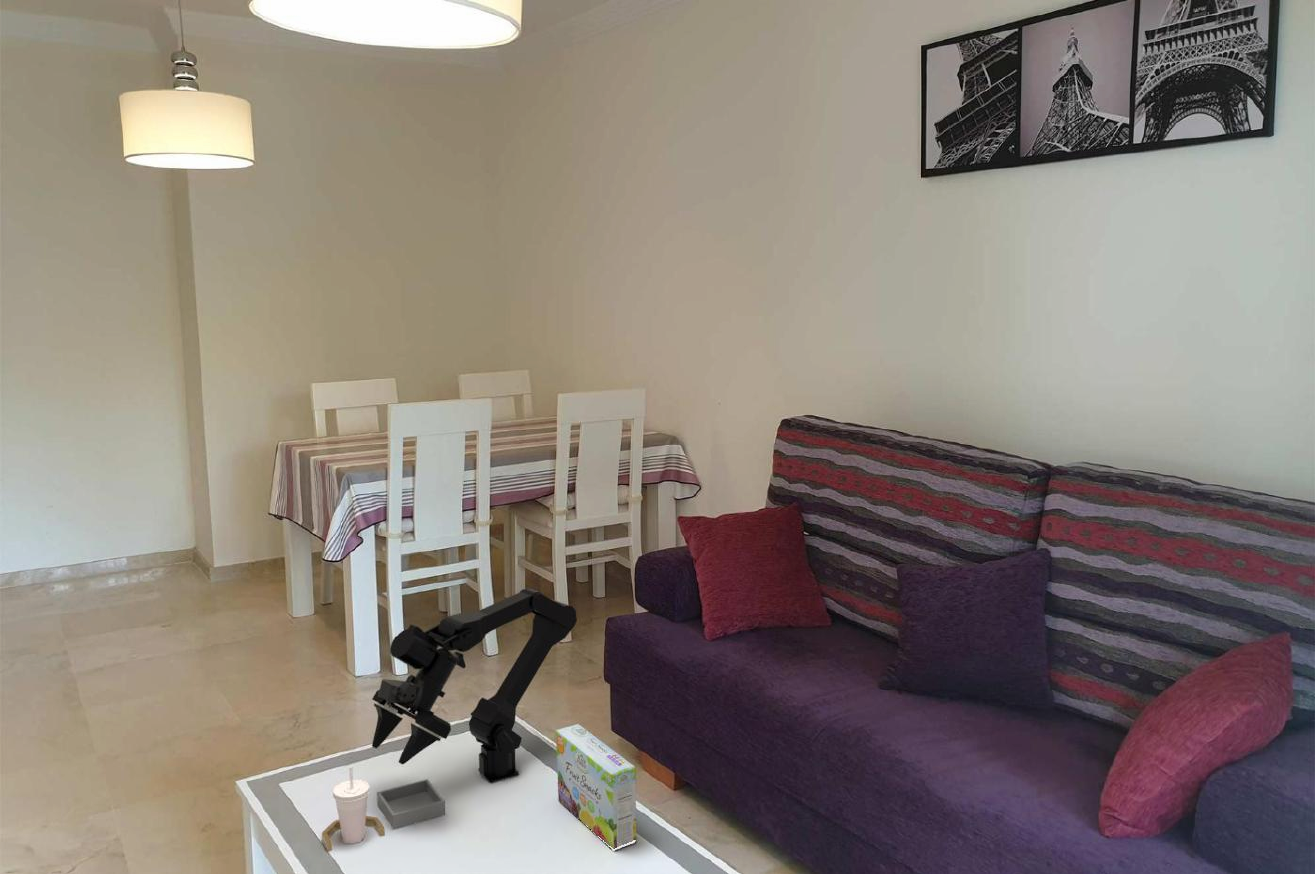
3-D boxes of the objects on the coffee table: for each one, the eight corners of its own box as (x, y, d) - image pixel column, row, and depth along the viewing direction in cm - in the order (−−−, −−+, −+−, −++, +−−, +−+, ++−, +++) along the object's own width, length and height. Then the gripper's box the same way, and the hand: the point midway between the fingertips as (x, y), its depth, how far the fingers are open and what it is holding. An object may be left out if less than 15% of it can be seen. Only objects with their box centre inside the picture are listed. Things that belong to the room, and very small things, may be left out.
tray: (427, 792, 199) (427, 778, 199) (445, 814, 191) (445, 800, 190) (377, 805, 194) (376, 792, 193) (393, 829, 185) (392, 815, 185)
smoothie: (338, 851, 178) (335, 777, 176) (332, 833, 184) (328, 761, 182) (375, 842, 181) (372, 769, 179) (367, 825, 187) (364, 754, 185)
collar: (373, 817, 189) (373, 810, 189) (384, 834, 184) (384, 827, 183) (317, 832, 184) (317, 825, 184) (327, 851, 178) (327, 843, 178)
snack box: (555, 802, 195) (554, 728, 193) (580, 794, 199) (579, 721, 196) (612, 853, 178) (611, 773, 176) (638, 843, 181) (638, 764, 179)
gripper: (375, 649, 193) (329, 724, 188) (430, 675, 181) (383, 756, 175) (414, 672, 201) (372, 745, 195) (470, 698, 188) (426, 777, 183)
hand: (387, 755), depth 187 cm, fingers open, 9 cm apart
